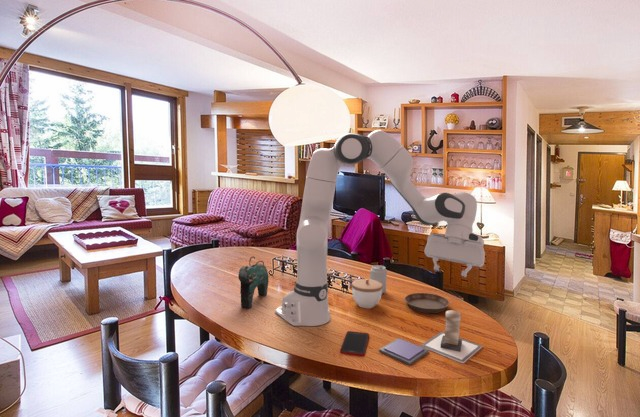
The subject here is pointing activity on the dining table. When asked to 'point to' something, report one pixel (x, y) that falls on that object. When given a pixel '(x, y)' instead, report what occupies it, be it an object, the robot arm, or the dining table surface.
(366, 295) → the lidded bowl
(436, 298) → the plant saucer
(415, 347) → the ink pad
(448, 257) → the robot arm
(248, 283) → the green elephant figure
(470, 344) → the marked square
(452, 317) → the stamp
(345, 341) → the cell phone
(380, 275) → the can
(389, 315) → the dining table surface
